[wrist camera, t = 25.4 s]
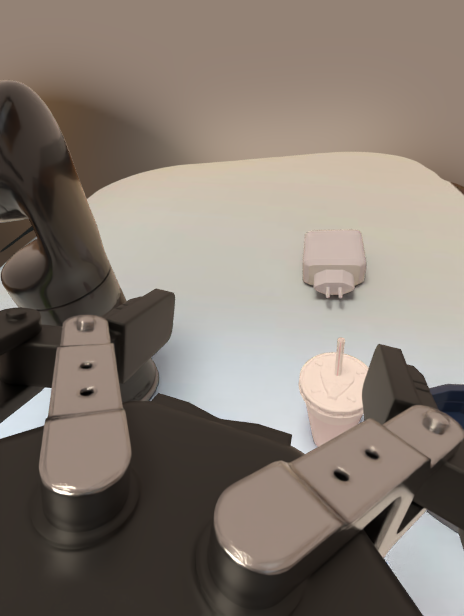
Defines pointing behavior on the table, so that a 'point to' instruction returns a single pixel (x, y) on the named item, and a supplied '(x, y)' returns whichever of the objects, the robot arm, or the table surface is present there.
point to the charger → (334, 260)
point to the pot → (458, 405)
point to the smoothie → (332, 393)
